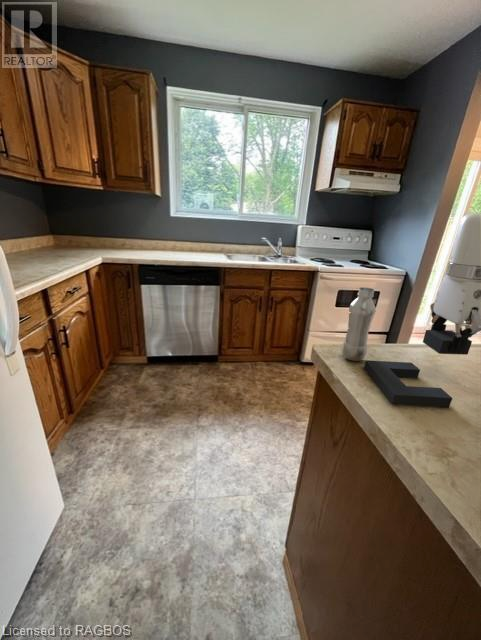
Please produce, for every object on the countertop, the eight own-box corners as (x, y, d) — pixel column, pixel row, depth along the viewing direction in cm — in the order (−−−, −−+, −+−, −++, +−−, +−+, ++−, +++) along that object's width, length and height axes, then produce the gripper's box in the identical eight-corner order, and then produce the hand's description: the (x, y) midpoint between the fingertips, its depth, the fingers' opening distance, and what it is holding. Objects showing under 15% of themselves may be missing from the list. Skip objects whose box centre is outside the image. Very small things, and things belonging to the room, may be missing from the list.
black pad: (448, 342, 70) (452, 330, 69) (467, 354, 64) (472, 341, 62) (422, 342, 70) (425, 329, 69) (439, 353, 64) (443, 340, 63)
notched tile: (409, 370, 71) (411, 362, 70) (449, 408, 57) (452, 398, 56) (363, 368, 71) (365, 360, 70) (391, 404, 57) (394, 394, 56)
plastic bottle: (370, 361, 75) (387, 291, 68) (351, 365, 72) (366, 292, 65) (353, 351, 80) (367, 285, 73) (334, 354, 78) (347, 286, 71)
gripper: (521, 280, 52) (490, 362, 58) (456, 266, 69) (437, 331, 75) (481, 279, 52) (454, 361, 58) (426, 265, 69) (409, 331, 75)
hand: (445, 344), depth 67 cm, fingers closed on black pad, 6 cm apart
